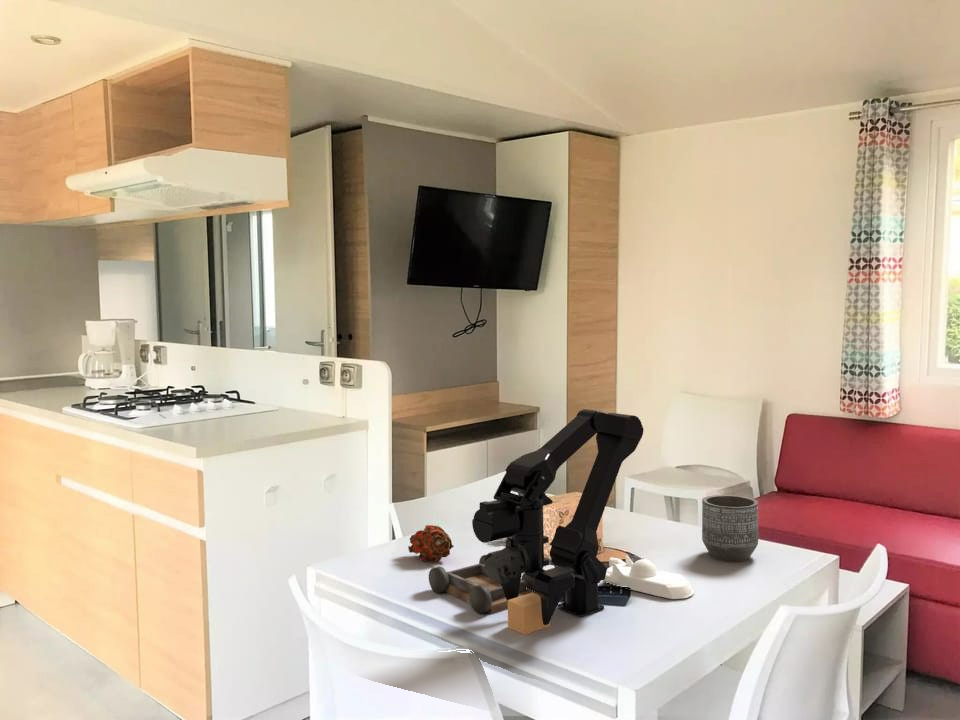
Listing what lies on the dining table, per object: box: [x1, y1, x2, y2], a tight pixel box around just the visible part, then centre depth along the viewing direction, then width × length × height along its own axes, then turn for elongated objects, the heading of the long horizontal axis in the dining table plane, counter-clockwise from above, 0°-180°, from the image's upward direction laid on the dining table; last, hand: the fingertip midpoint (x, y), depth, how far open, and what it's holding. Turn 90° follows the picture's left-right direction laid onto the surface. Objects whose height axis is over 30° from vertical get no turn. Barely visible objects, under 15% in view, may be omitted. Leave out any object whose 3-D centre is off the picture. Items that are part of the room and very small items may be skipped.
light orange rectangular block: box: [507, 593, 550, 635], centre depth 145 cm, size 4×6×5 cm
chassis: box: [428, 553, 538, 614], centre depth 162 cm, size 19×15×5 cm
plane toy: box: [602, 555, 695, 600], centre depth 164 cm, size 10×20×6 cm, turn 52°
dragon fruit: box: [407, 524, 455, 562], centre depth 185 cm, size 8×8×12 cm
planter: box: [701, 494, 759, 563], centre depth 183 cm, size 12×12×13 cm
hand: (528, 616), depth 145 cm, fingers open, 9 cm apart
